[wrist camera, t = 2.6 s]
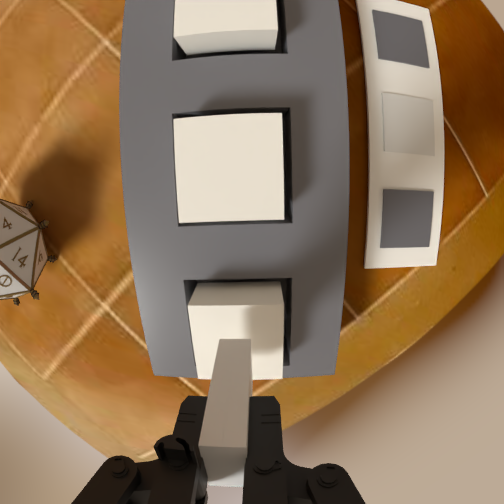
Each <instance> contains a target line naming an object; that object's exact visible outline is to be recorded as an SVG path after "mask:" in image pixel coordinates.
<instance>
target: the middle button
mask: <svg viewBox="0 0 504 504" xmlns="http://www.w3.org/2000/svg"><path fill="white" fill-rule="evenodd" d="M174 149H175V170H176V187H177V202H178V216H179V223H189V222H216V221H248V220H284V169H283V130H282V113H251V114H228V115H212V116H199V117H188V118H178V119H174Z"/></svg>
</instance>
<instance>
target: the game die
mask: <svg viewBox="0 0 504 504" xmlns="http://www.w3.org/2000/svg"><path fill="white" fill-rule="evenodd" d="M32 205H33V204H32V200H31V201H28V202H27V204H26V207H23V206H20V205H17V204H14V203H11V202H9V201H6V200H3V199H0V300H3V299H14V300H13V301H14V304H16V305H17V306H18V305H19V303H20V302H19V299H18V298H17V297H20V296H22V295H25V294H27V293H31V295H32V297H33V298H34V299H37V300H39V293H37V291H35V290H34V287H35V285H36V283H37V281H38V278H39V276H40V274H41V272H42V270H43V268H44V266H45V264H46V262H47V261H50V262H54V261H56V260H57V259H56V258H55V257H54V256H52V255H51V256H48V254H47V250H46V246H45V242H44V238H43V234H42V228H44V229H45V227H48V223H49V221H47V220H45V219H44V220H43V222H42V221H41V223H40V224H39V223H38V222H37V221H36V219H35V218H34V216H33V215H32V214H31V212H30V211H29V209H30V208H31V206H32Z"/></svg>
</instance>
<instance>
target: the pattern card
mask: <svg viewBox="0 0 504 504" xmlns="http://www.w3.org/2000/svg"><path fill="white" fill-rule="evenodd" d="M356 6H357V13H358V20H359V27H360V35H361V43H362V52H363V62H364V73H365V86H366V102H367V124H368V203H367V226H366V243H365V257H364V268H365V269H367V268H391V267H413V266H433V265H436V261H437V254H438V247H439V238H440V229H441V218H442V206H443V189H444V120H443V103H442V91H441V81H440V72H439V64H438V57H437V51H436V44H435V39H434V33H433V28H432V23H431V18H430V13H429V9H426V8H423V7H420V6H416V5H412V4H409V3H405V2H401V1H397V0H356Z"/></svg>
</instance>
